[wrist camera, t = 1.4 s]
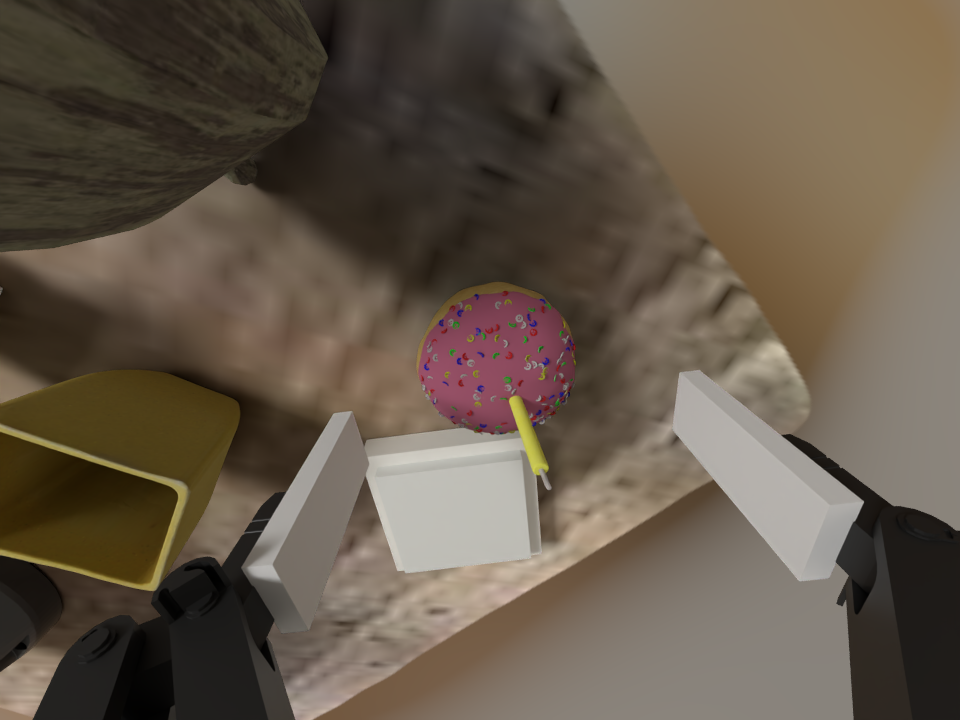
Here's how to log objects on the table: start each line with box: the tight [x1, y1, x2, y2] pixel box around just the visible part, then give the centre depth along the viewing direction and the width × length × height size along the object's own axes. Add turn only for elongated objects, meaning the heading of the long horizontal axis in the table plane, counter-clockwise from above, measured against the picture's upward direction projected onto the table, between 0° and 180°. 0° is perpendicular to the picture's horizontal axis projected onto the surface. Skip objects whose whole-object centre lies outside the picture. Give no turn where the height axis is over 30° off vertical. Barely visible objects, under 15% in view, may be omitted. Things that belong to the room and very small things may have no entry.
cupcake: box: [417, 282, 576, 490], centre depth 18 cm, size 9×8×12 cm
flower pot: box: [0, 370, 240, 591], centre depth 21 cm, size 9×9×9 cm
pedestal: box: [364, 428, 542, 573], centre depth 28 cm, size 12×12×3 cm
